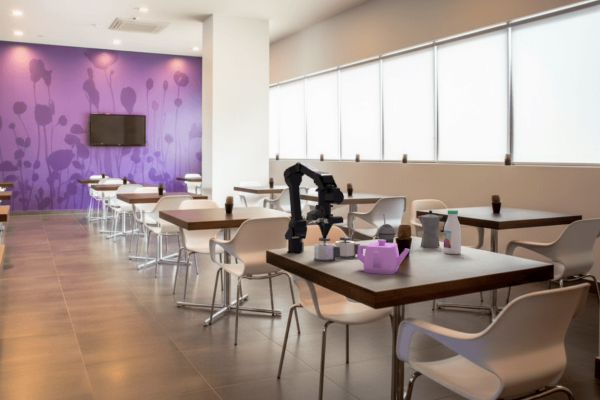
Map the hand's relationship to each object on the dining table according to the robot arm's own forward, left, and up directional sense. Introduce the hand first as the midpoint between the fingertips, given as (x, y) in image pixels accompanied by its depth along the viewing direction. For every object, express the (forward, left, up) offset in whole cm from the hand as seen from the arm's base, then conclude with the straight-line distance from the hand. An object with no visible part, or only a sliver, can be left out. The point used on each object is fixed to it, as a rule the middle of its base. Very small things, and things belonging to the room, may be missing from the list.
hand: (324, 238), depth 250 cm
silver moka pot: (+1, 0, -10) cm, 10 cm away
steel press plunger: (0, 0, -6) cm, 6 cm away
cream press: (+8, +10, -10) cm, 16 cm away
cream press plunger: (+7, +10, -7) cm, 14 cm away
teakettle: (+28, -17, -10) cm, 34 cm away
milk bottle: (+53, +31, -10) cm, 62 cm away
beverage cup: (+26, +7, -10) cm, 29 cm away
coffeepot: (+43, +48, -10) cm, 65 cm away
